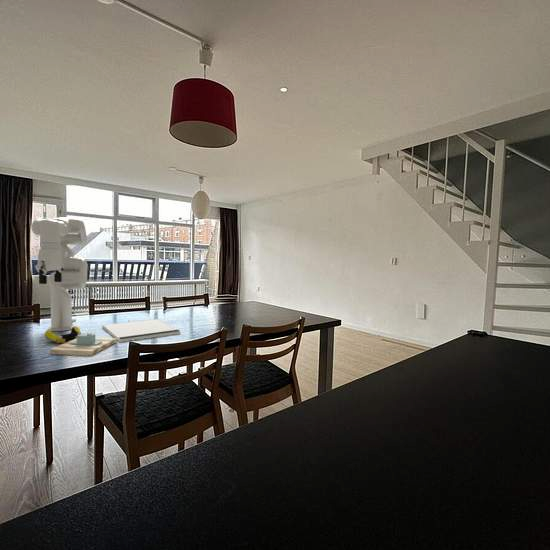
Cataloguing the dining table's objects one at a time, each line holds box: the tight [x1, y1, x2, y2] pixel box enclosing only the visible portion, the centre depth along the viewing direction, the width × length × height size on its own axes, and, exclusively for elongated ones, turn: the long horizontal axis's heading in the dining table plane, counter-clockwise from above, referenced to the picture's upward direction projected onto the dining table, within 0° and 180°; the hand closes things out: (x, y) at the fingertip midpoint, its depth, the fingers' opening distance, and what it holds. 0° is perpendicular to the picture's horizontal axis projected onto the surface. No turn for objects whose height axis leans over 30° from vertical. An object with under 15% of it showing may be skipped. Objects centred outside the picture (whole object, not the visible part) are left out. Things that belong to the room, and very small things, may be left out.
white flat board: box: [101, 318, 181, 343], centre depth 178 cm, size 35×2×31 cm
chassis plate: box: [49, 337, 118, 357], centre depth 145 cm, size 20×18×2 cm
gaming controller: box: [44, 325, 82, 344], centre depth 155 cm, size 15×6×10 cm
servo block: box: [70, 331, 102, 346], centre depth 144 cm, size 4×12×7 cm, turn 89°
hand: (50, 282), depth 150 cm, fingers open, 9 cm apart
